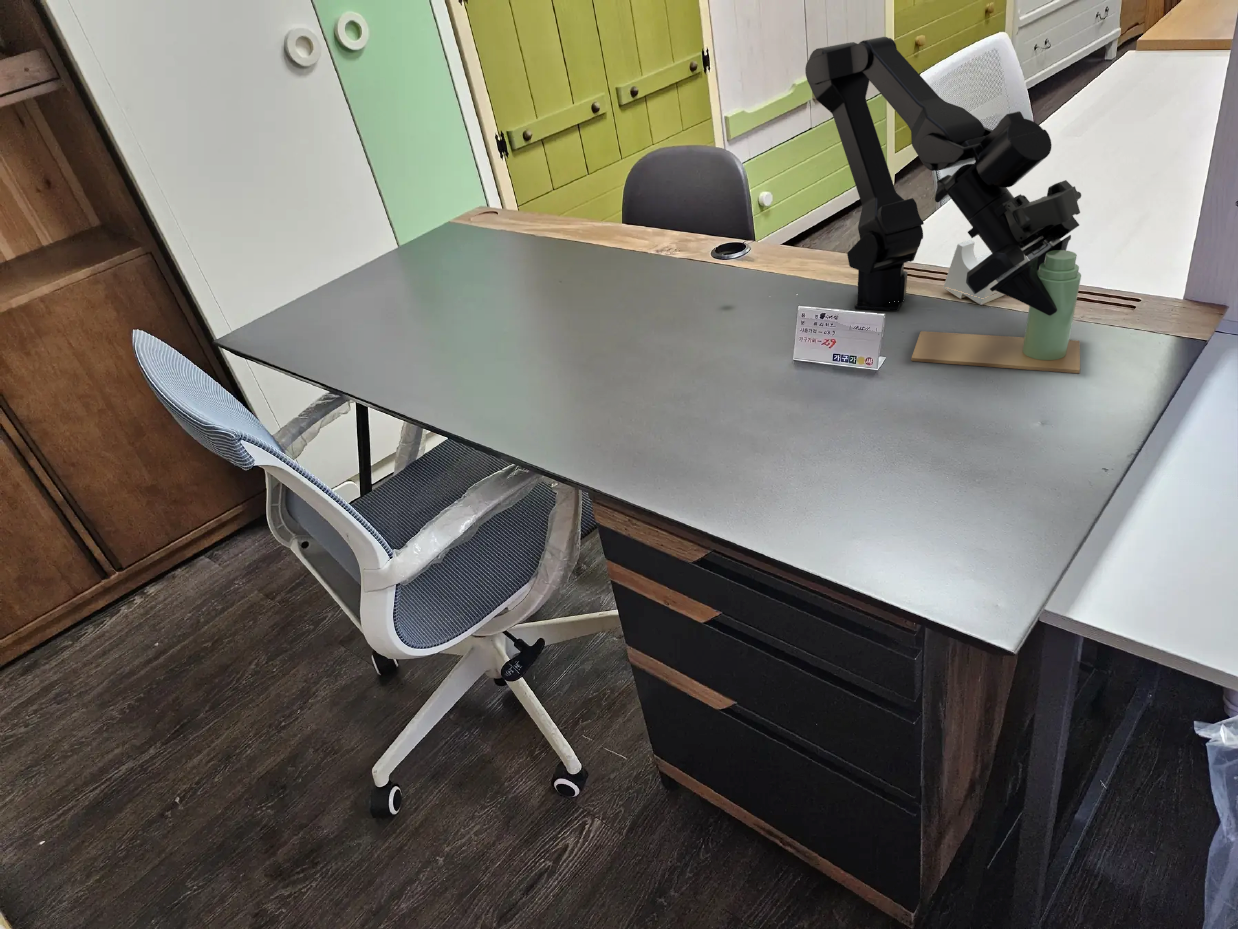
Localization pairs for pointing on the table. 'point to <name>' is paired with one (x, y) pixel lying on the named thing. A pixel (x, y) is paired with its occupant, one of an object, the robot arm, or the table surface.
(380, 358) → the table surface
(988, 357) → the cork pad
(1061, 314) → the bottle
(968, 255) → the bracket
